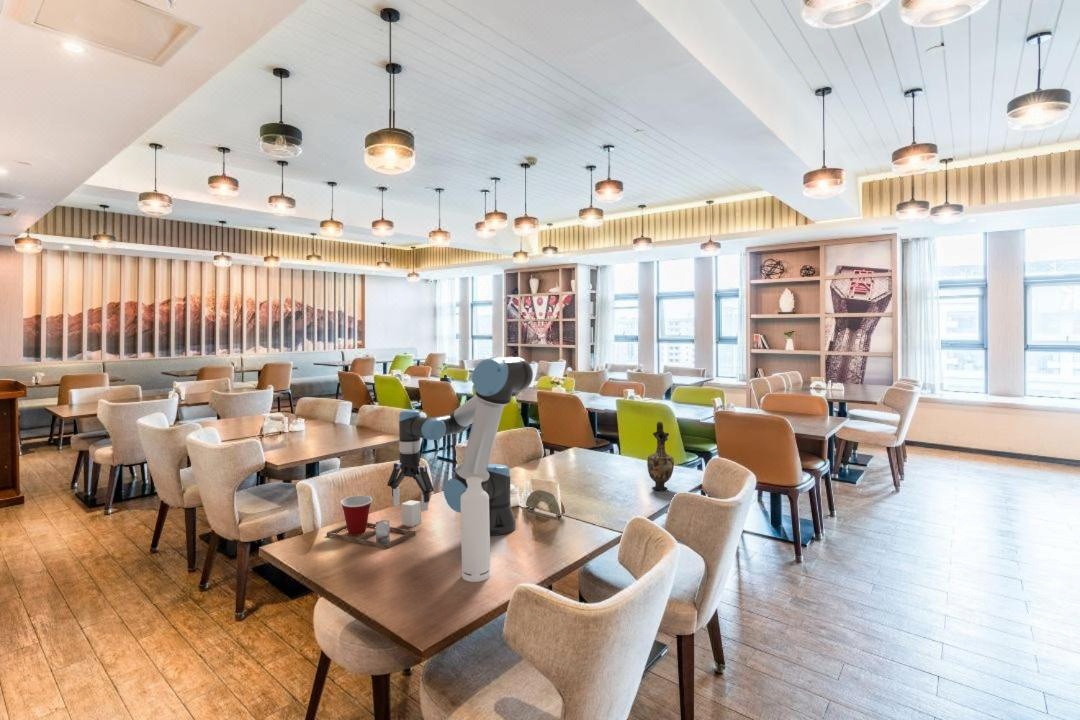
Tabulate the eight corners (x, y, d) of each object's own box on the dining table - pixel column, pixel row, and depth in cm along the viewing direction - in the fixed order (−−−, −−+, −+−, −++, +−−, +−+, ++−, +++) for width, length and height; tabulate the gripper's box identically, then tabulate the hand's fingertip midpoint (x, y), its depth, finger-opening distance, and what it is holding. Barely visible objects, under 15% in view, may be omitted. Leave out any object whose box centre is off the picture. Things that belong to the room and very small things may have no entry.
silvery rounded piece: (392, 541, 179) (392, 521, 179) (383, 546, 175) (382, 525, 175) (382, 539, 181) (382, 519, 181) (373, 544, 177) (372, 523, 177)
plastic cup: (348, 540, 180) (347, 506, 180) (336, 532, 188) (335, 499, 188) (378, 532, 188) (377, 499, 187) (365, 525, 196) (364, 493, 195)
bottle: (463, 570, 155) (461, 476, 154) (490, 568, 156) (488, 475, 155) (461, 582, 147) (459, 483, 146) (490, 581, 148) (488, 482, 147)
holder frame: (415, 534, 185) (415, 531, 185) (386, 548, 172) (386, 545, 172) (357, 523, 198) (357, 520, 198) (326, 535, 185) (326, 532, 185)
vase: (648, 492, 233) (647, 424, 232) (647, 484, 245) (646, 420, 244) (675, 493, 231) (674, 425, 230) (672, 485, 243) (672, 420, 242)
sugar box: (421, 522, 198) (420, 501, 197) (412, 526, 193) (411, 505, 193) (411, 520, 200) (410, 500, 200) (401, 525, 195) (401, 503, 195)
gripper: (443, 453, 193) (443, 510, 194) (391, 446, 205) (392, 500, 206) (429, 457, 187) (430, 516, 188) (377, 450, 198) (378, 505, 199)
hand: (410, 508), depth 197 cm, fingers open, 13 cm apart
